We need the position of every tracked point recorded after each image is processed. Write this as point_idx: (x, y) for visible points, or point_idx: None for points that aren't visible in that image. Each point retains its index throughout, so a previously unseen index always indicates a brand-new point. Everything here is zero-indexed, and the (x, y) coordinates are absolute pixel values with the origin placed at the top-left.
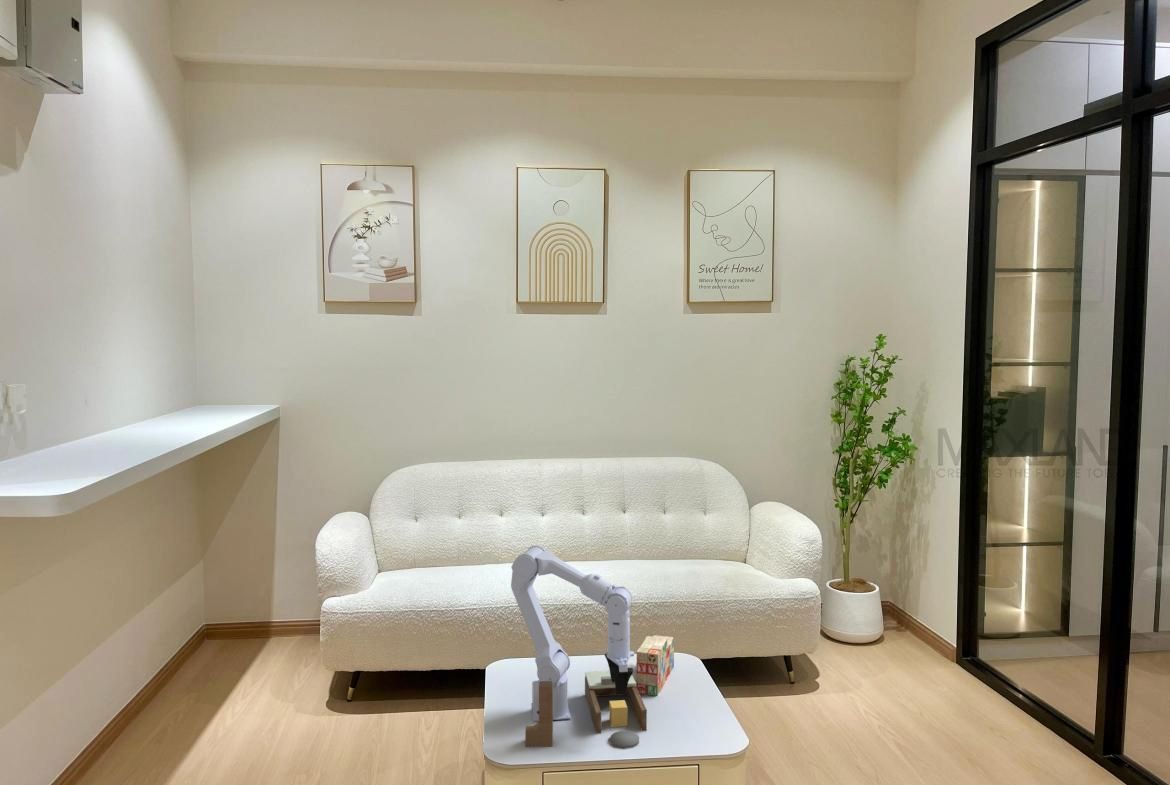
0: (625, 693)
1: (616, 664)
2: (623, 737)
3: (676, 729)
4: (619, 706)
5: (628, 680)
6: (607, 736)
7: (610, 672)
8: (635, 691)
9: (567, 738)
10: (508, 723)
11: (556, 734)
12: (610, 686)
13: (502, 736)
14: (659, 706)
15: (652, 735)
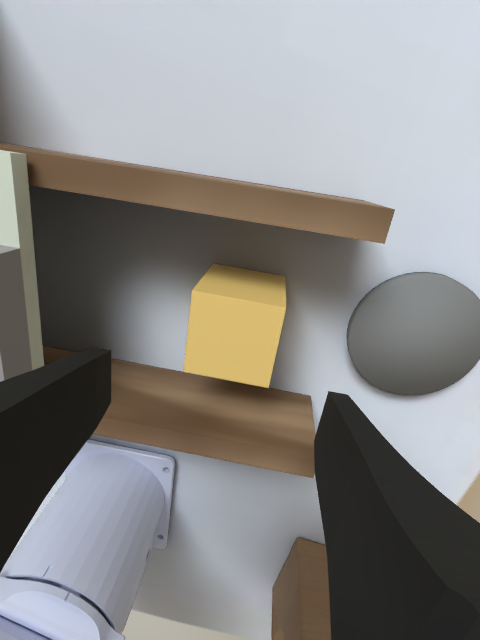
0: (351, 399)
1: (2, 489)
2: (411, 344)
3: (425, 5)
4: (263, 345)
5: (442, 496)
6: (343, 382)
7: (64, 470)
8: (98, 184)
9: (303, 499)
10: (161, 591)
11: (265, 517)
12: (36, 329)
13: (231, 619)
14: (115, 7)
15: (424, 188)
